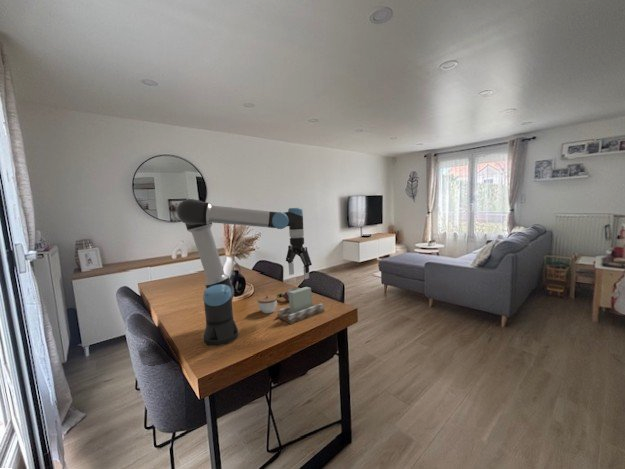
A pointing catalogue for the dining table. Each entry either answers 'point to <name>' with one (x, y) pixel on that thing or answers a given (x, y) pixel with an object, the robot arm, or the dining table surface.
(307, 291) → the pale green square block
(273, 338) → the dining table surface
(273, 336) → the dining table surface
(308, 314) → the grey bumpy tray
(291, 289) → the decorative duck model
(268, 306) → the lidded jar
